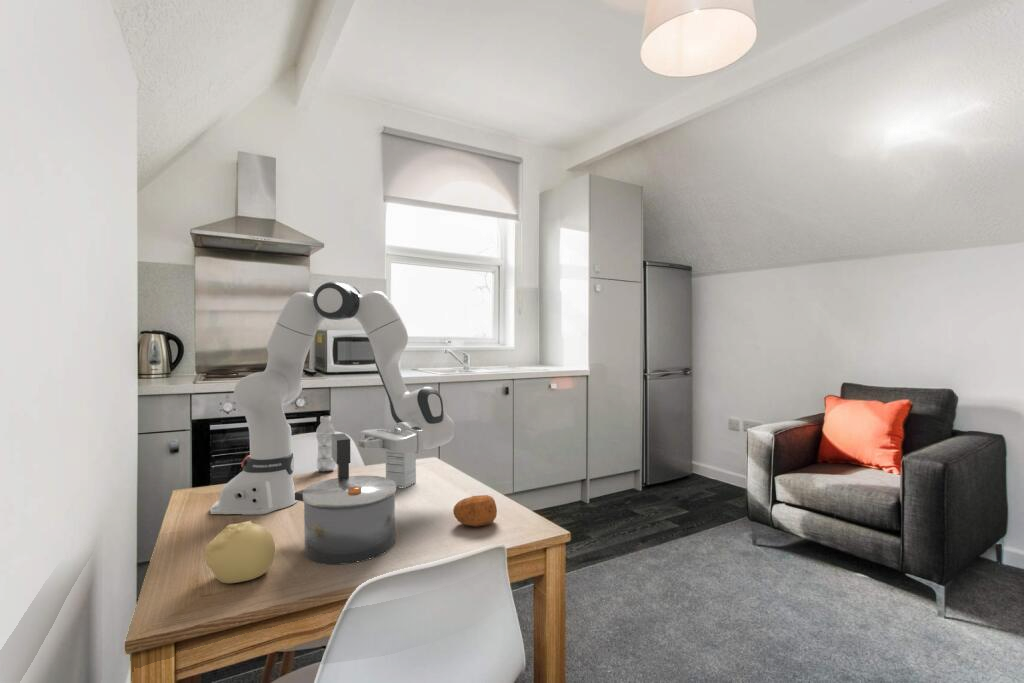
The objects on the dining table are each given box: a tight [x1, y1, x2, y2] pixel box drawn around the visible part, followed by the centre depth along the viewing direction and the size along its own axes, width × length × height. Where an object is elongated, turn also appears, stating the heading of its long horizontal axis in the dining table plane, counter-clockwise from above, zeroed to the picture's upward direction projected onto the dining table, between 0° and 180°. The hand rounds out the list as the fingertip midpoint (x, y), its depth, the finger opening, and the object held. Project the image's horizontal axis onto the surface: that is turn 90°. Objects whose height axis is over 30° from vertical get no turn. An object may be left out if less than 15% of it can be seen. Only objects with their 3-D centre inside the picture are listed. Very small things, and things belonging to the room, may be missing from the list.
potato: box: [453, 494, 498, 528], centre depth 128 cm, size 9×11×8 cm
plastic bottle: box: [315, 415, 337, 472], centre depth 182 cm, size 6×7×20 cm
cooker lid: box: [302, 432, 397, 508], centre depth 119 cm, size 28×21×11 cm
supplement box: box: [385, 450, 417, 489], centre depth 164 cm, size 7×7×13 cm
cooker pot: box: [295, 488, 396, 565], centre depth 117 cm, size 27×20×12 cm
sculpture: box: [204, 520, 276, 584], centre depth 101 cm, size 12×12×11 cm
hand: (361, 444), depth 132 cm, fingers closed
